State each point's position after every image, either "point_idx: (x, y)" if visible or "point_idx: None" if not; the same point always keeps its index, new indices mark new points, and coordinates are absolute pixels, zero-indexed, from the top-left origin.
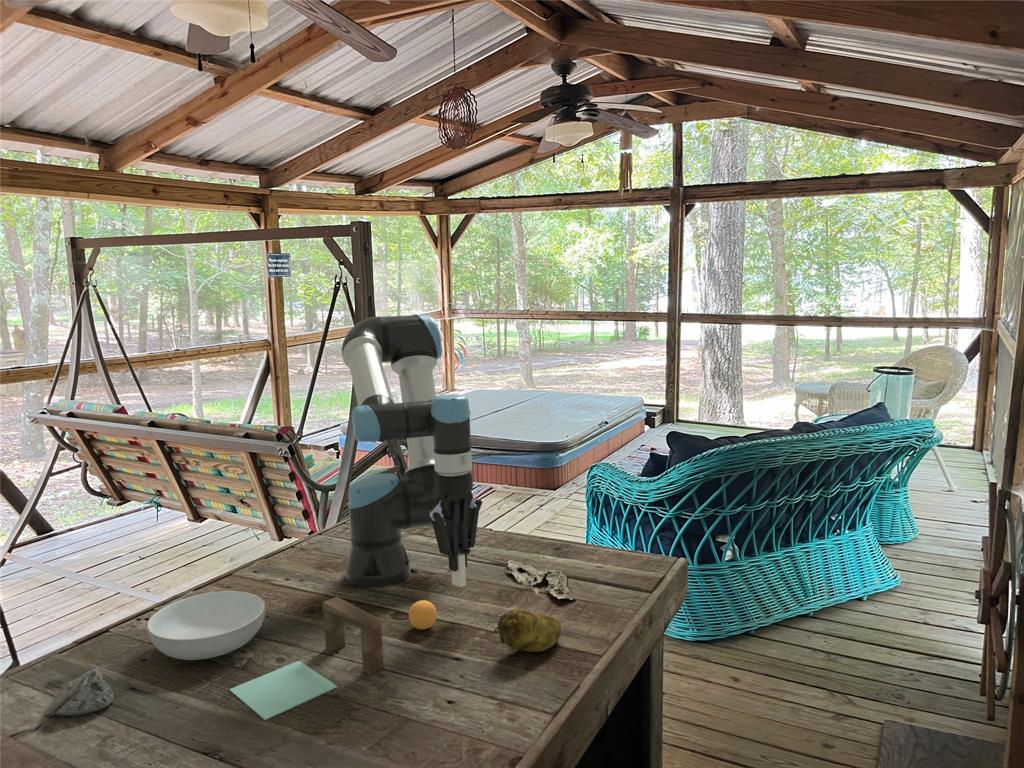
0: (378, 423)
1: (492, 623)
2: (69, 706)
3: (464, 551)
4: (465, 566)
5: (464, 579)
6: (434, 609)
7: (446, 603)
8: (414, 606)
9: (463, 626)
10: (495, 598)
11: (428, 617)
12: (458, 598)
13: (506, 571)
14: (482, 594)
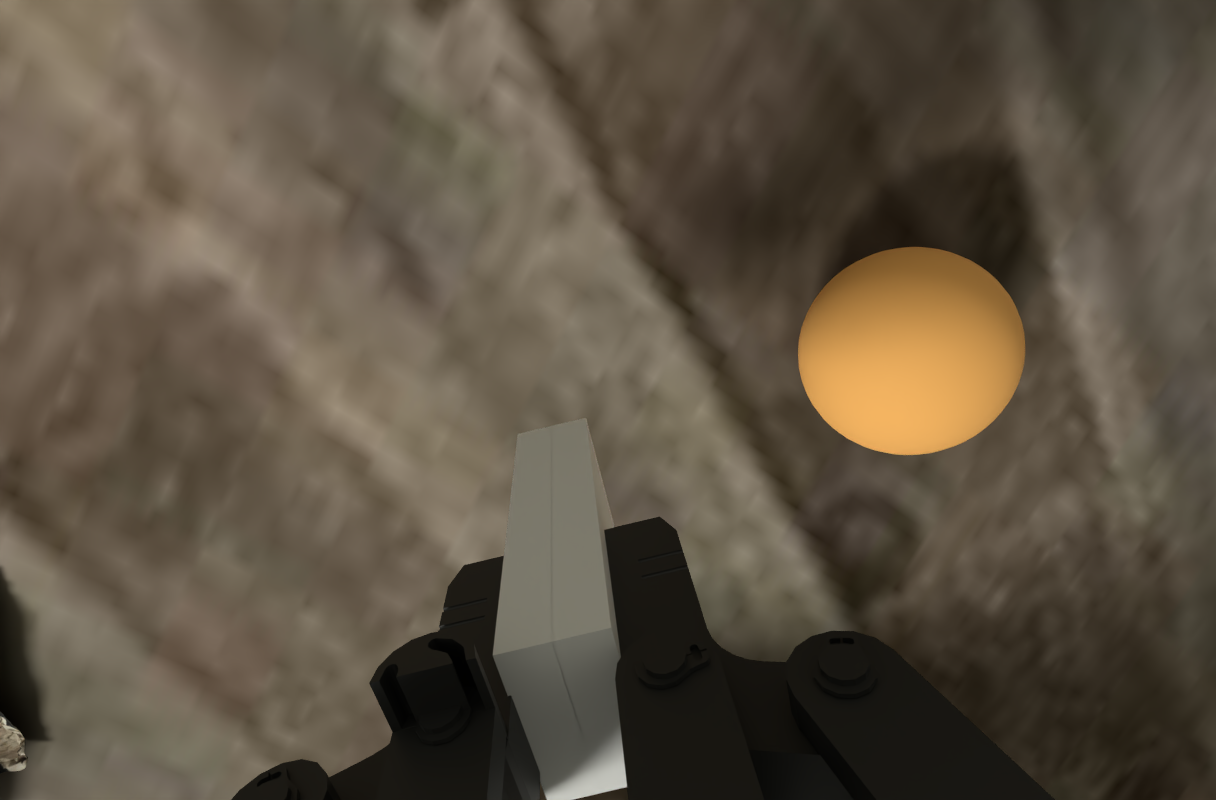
0: None
1: (437, 102)
2: None
3: (491, 691)
4: (483, 566)
5: (534, 455)
6: (866, 303)
7: None
8: (1017, 375)
9: (640, 191)
10: (248, 457)
11: (932, 251)
12: None
13: (21, 749)
14: (308, 553)
